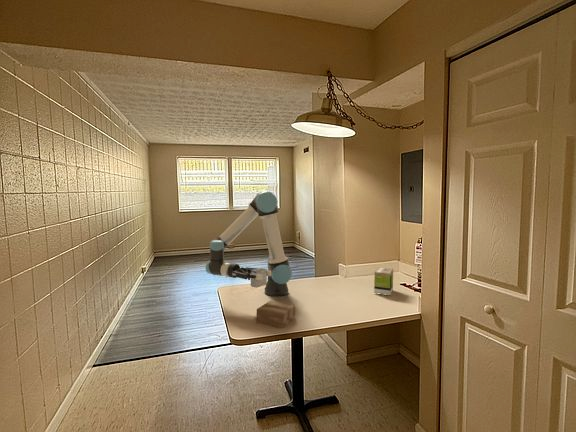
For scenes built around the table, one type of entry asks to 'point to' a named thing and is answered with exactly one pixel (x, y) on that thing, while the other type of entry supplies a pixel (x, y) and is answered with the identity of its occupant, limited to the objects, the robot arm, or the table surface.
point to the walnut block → (275, 314)
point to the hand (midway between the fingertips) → (266, 275)
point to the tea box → (383, 281)
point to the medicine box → (259, 283)
